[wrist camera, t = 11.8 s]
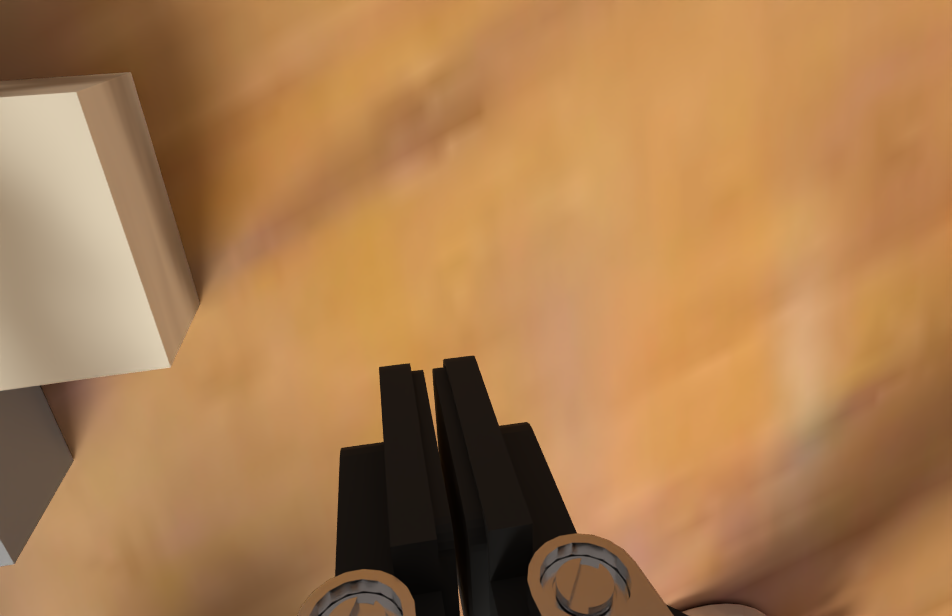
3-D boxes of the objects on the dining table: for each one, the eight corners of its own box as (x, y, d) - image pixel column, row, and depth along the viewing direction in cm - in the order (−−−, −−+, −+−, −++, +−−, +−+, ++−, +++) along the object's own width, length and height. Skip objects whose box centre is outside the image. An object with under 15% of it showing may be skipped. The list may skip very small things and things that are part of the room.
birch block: (132, 71, 18) (76, 92, 14) (201, 301, 22) (170, 367, 18) (-86, 85, 18) (-209, 112, 14) (24, 323, 21) (-48, 397, 17)
